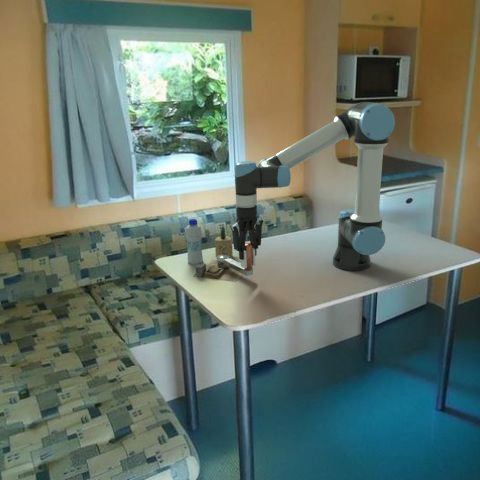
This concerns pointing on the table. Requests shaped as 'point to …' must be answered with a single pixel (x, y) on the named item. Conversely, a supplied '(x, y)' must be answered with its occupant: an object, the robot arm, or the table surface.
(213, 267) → the nut
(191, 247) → the bottle
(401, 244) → the table surface
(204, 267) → the square wooden tray
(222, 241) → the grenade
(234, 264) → the lever
